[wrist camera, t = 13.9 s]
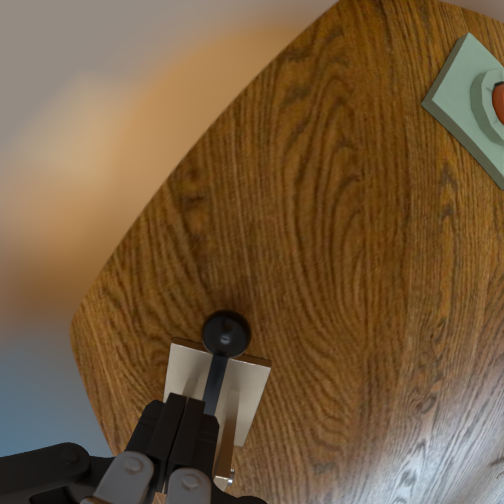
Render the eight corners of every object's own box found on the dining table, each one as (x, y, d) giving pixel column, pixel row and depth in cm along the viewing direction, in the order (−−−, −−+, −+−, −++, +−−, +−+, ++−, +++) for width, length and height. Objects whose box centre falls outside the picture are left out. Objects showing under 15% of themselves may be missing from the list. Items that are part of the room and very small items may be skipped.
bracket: (174, 336, 28) (128, 420, 16) (271, 360, 28) (272, 456, 17) (162, 419, 30) (129, 500, 19) (243, 439, 30) (235, 527, 19)
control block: (420, 104, 23) (442, 95, 19) (458, 38, 21) (478, 25, 17) (501, 190, 24) (527, 193, 20) (531, 120, 22) (554, 117, 18)
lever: (209, 305, 24) (206, 300, 21) (254, 317, 25) (259, 314, 21) (170, 468, 21) (162, 486, 17) (213, 479, 21) (212, 499, 17)
